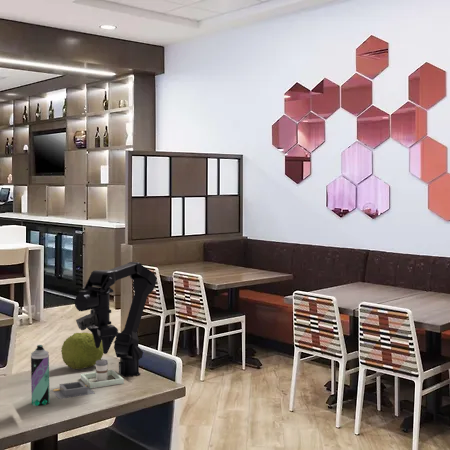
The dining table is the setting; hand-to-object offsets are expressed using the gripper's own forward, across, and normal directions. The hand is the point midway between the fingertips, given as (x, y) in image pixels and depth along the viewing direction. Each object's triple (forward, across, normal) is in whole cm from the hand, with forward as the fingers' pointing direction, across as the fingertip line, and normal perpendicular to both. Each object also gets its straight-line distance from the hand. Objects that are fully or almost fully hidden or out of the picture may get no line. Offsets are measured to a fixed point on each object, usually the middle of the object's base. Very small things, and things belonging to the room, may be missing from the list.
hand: (101, 350), depth 229 cm
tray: (+12, 0, 0) cm, 12 cm away
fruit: (+12, -24, 0) cm, 27 cm away
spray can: (+13, +13, -24) cm, 30 cm away
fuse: (+12, 0, 0) cm, 12 cm away
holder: (+12, +7, -12) cm, 18 cm away
